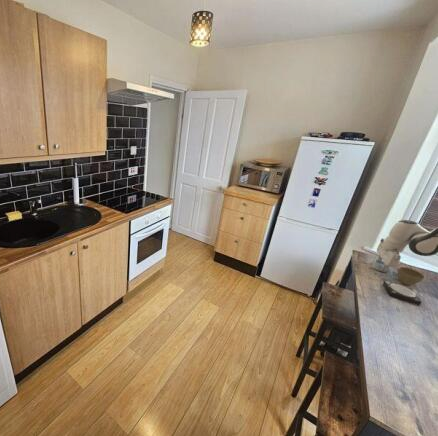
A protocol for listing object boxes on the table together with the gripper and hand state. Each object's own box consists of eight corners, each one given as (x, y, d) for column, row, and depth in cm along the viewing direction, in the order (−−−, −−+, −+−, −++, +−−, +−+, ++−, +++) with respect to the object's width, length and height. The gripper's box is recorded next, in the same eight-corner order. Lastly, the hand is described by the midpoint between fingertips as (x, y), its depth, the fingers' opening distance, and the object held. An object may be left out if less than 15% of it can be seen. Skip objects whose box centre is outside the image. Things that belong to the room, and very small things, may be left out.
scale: (409, 292, 121) (412, 288, 119) (419, 305, 112) (422, 301, 111) (382, 284, 125) (385, 279, 124) (389, 296, 116) (392, 291, 115)
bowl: (384, 268, 140) (388, 262, 138) (388, 274, 135) (392, 267, 133) (370, 264, 143) (373, 258, 141) (373, 269, 138) (377, 263, 136)
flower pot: (387, 275, 134) (394, 265, 131) (407, 278, 132) (414, 268, 129) (401, 286, 125) (408, 276, 122) (422, 290, 123) (430, 279, 120)
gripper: (408, 256, 122) (394, 276, 128) (393, 240, 139) (382, 259, 145) (392, 252, 125) (379, 272, 131) (380, 237, 141) (369, 255, 147)
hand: (380, 265), depth 138 cm, fingers closed on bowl, 7 cm apart
